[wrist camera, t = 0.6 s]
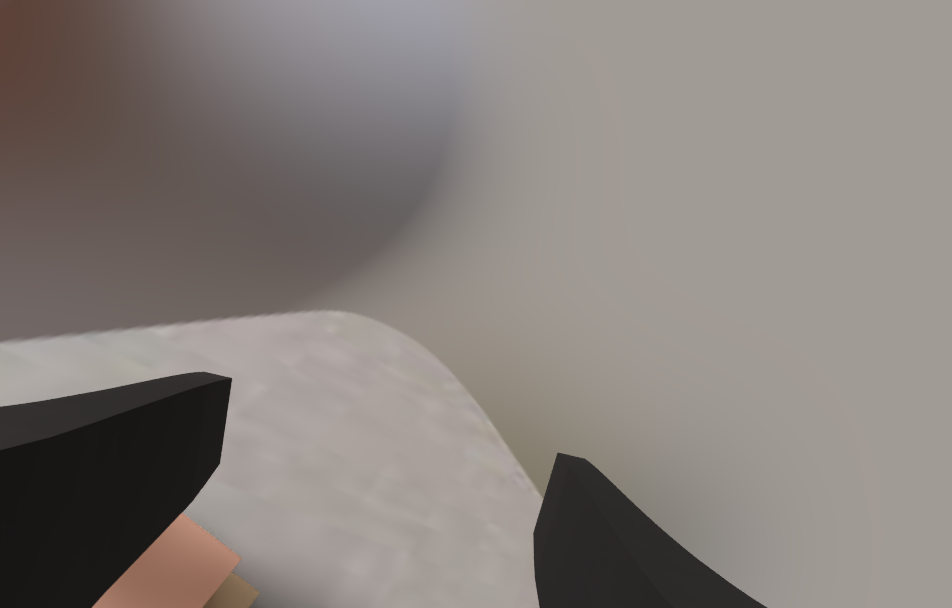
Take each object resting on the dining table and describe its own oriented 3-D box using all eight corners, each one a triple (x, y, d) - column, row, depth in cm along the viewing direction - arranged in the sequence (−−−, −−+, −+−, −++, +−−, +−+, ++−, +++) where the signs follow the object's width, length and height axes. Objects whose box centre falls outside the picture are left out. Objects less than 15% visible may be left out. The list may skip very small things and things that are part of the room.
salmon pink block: (125, 701, 16) (143, 680, 14) (0, 610, 16) (1, 577, 14) (216, 587, 20) (241, 558, 18) (114, 510, 19) (128, 472, 17)
